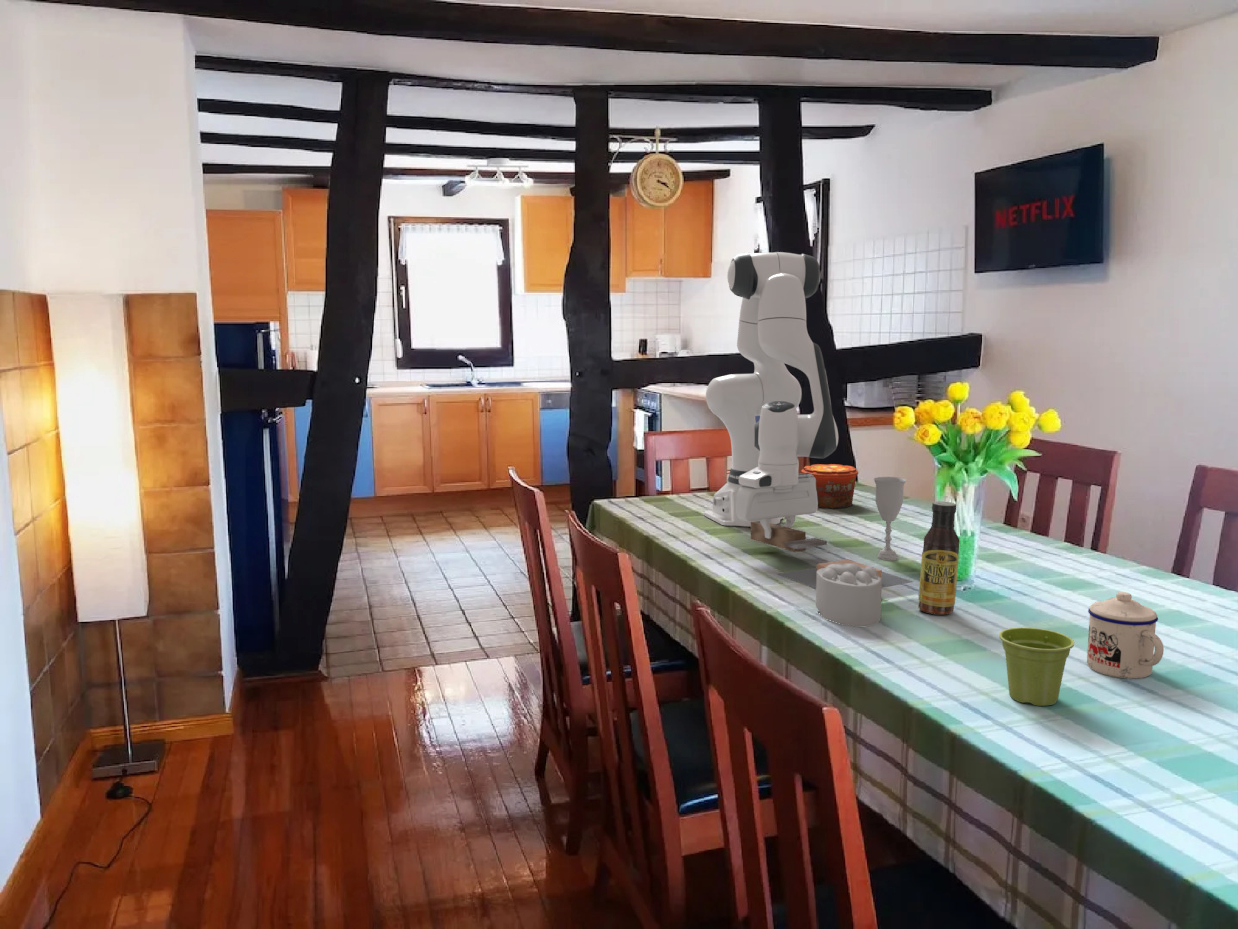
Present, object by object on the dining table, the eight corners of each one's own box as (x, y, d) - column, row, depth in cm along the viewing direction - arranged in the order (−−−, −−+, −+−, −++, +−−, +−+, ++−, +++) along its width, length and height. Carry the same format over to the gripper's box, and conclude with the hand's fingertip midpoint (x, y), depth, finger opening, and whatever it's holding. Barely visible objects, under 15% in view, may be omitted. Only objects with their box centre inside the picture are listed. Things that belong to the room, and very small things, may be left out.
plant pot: (982, 688, 132) (984, 629, 130) (1039, 682, 134) (1043, 624, 132) (1024, 715, 123) (1028, 652, 121) (1086, 707, 125) (1090, 646, 123)
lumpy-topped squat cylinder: (864, 603, 173) (865, 558, 171) (892, 625, 160) (893, 576, 159) (810, 606, 172) (811, 560, 170) (833, 628, 159) (834, 579, 157)
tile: (816, 564, 189) (850, 575, 180) (847, 559, 192) (881, 570, 184) (816, 576, 189) (849, 588, 180) (847, 571, 193) (881, 582, 184)
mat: (776, 576, 191) (776, 573, 191) (852, 564, 200) (852, 561, 200) (834, 598, 175) (834, 595, 175) (913, 584, 184) (913, 581, 184)
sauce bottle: (918, 615, 165) (922, 505, 162) (917, 605, 171) (921, 499, 168) (957, 617, 163) (962, 507, 160) (955, 607, 169) (959, 500, 166)
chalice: (905, 565, 199) (907, 482, 197) (872, 564, 201) (874, 481, 198) (901, 557, 206) (904, 477, 204) (870, 555, 208) (872, 476, 205)
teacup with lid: (1071, 661, 142) (1075, 587, 140) (1121, 655, 144) (1126, 582, 142) (1131, 690, 130) (1137, 610, 129) (1185, 684, 132) (1191, 605, 131)
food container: (789, 502, 271) (790, 466, 269) (832, 497, 278) (833, 462, 277) (825, 512, 257) (825, 473, 255) (869, 506, 264) (870, 469, 263)
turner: (741, 540, 213) (741, 523, 212) (770, 536, 216) (770, 519, 216) (797, 556, 195) (797, 538, 195) (826, 552, 199) (826, 533, 198)
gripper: (806, 470, 213) (805, 529, 215) (732, 477, 203) (732, 539, 205) (824, 473, 207) (823, 534, 209) (749, 481, 198) (748, 544, 200)
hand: (777, 536), depth 207 cm, fingers closed on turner, 3 cm apart
